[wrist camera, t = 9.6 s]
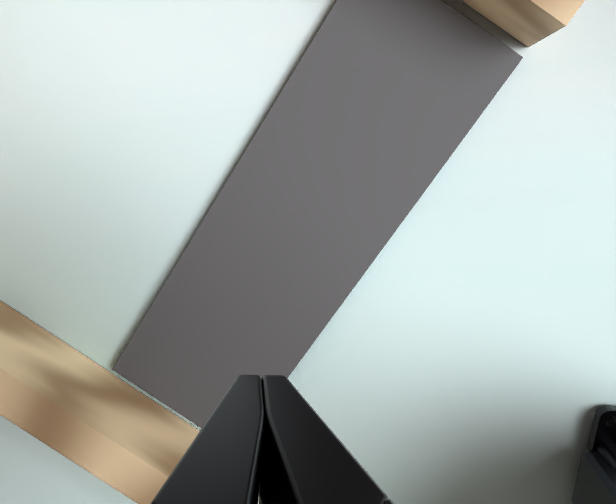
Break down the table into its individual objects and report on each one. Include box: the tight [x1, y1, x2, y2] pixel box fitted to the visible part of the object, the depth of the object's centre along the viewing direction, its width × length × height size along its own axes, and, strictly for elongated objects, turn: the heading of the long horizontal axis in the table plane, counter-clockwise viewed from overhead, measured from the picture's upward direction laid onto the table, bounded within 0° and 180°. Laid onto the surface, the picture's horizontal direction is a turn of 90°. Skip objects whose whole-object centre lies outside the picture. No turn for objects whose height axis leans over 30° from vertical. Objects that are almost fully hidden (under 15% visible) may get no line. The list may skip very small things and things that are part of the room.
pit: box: [112, 0, 523, 428], centre depth 21 cm, size 7×21×1 cm, turn 146°
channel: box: [0, 0, 585, 504], centre depth 18 cm, size 28×26×4 cm
